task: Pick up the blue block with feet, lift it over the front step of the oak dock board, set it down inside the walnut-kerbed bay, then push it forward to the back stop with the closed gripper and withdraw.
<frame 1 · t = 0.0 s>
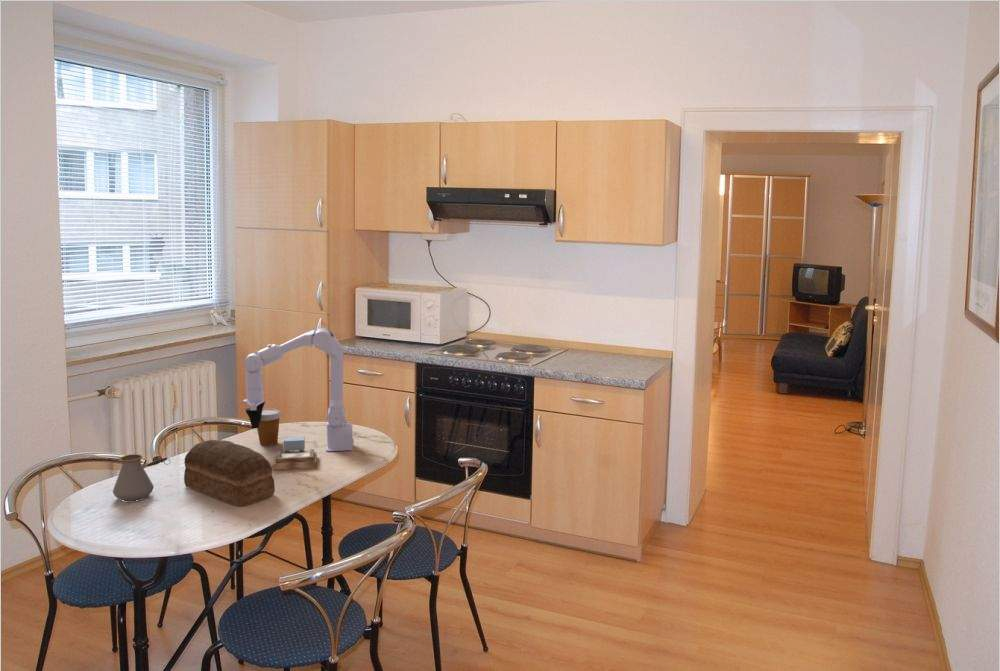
hand: (256, 424, 304), 10 cm above the table, tool pointing down, fingers open, 7 cm apart
disposable coffee cup: (268, 443, 316), on the table
dock: (295, 463, 294), on the table
bread: (229, 492, 268), on the table
blue block with feet: (294, 452, 305), on the table
coffee pot: (145, 501, 260), on the table
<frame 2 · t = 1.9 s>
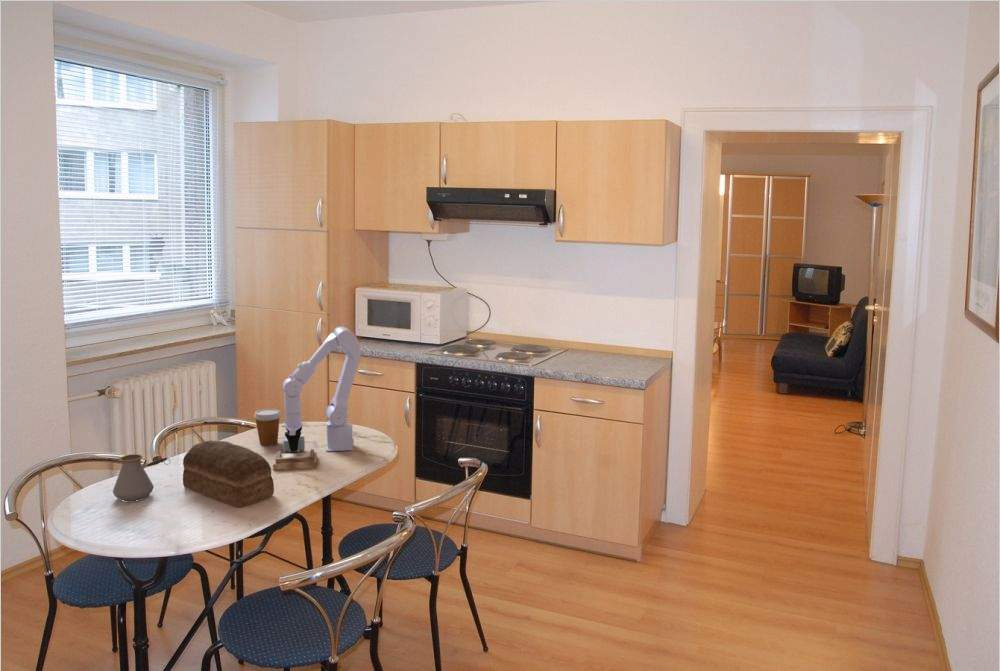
hand: (294, 449, 305), 1 cm above the table, tool pointing down, fingers closed on blue block with feet, 5 cm apart
blue block with feet: (294, 452, 305), on the table, touching gripper
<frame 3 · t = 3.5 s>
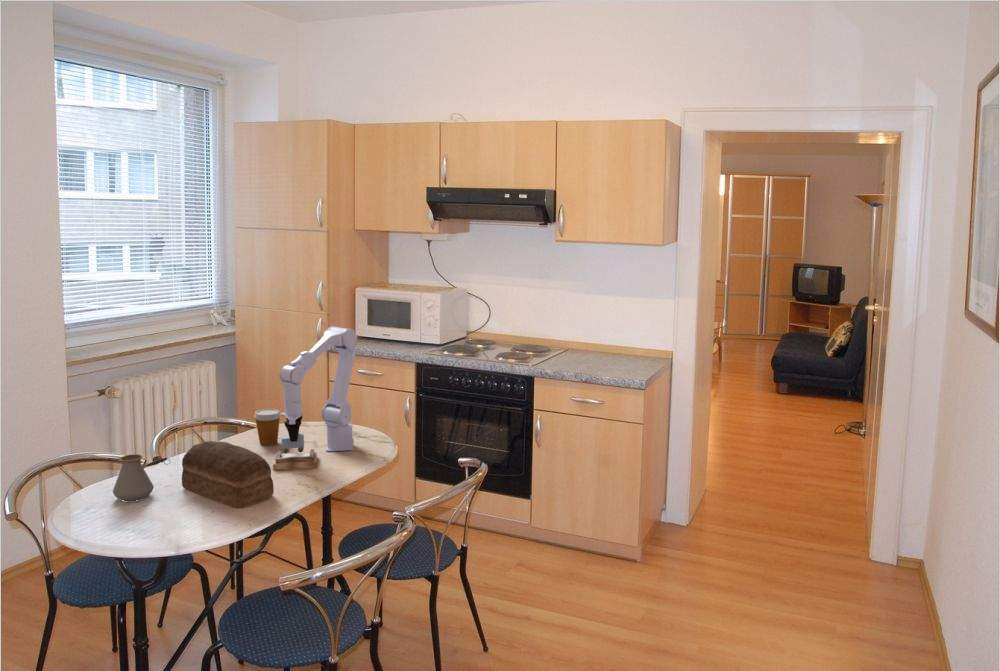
hand: (294, 439, 293), 8 cm above the table, tool pointing down, fingers closed on blue block with feet, 5 cm apart
blue block with feet: (293, 450, 294), point 4 cm above the table, touching gripper
when the fingers open (4 cm above the table, at t = 4.8 s): blue block with feet stays where it is, resting on dock.
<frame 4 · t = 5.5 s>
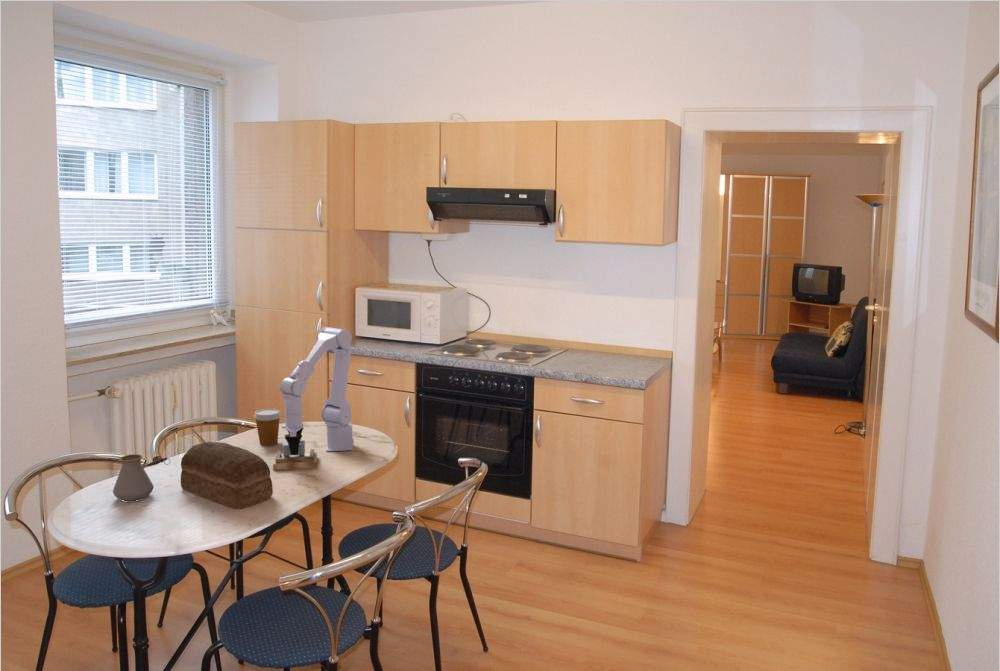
hand: (295, 451, 293), 4 cm above the table, tool pointing down, fingers open, 7 cm apart
blue block with feet: (294, 457, 293), point 2 cm above the table, touching dock
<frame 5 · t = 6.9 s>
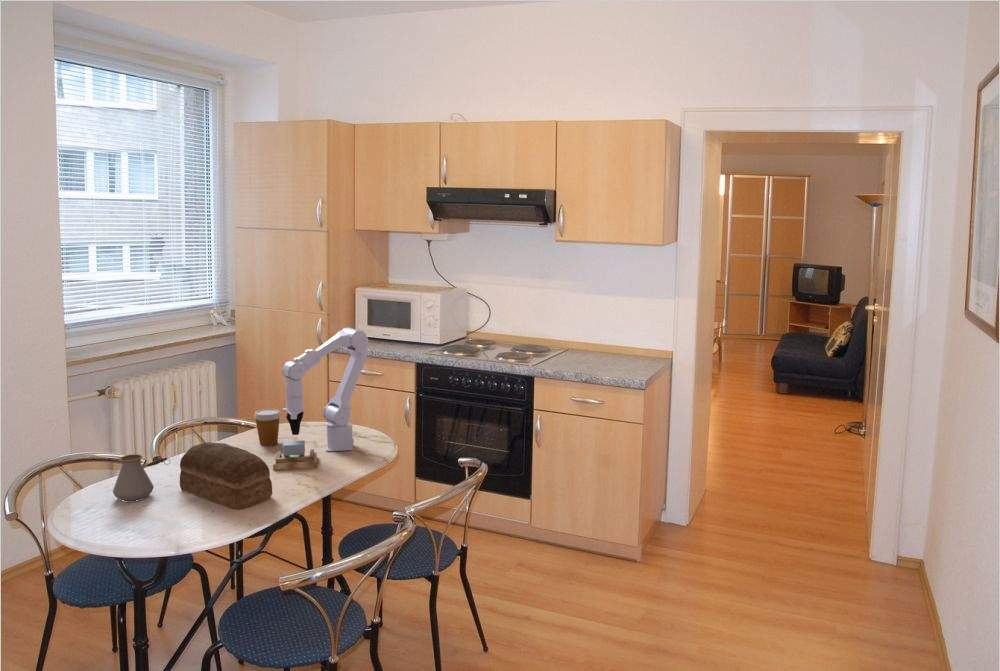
hand: (295, 433, 299), 8 cm above the table, tool pointing down, fingers closed
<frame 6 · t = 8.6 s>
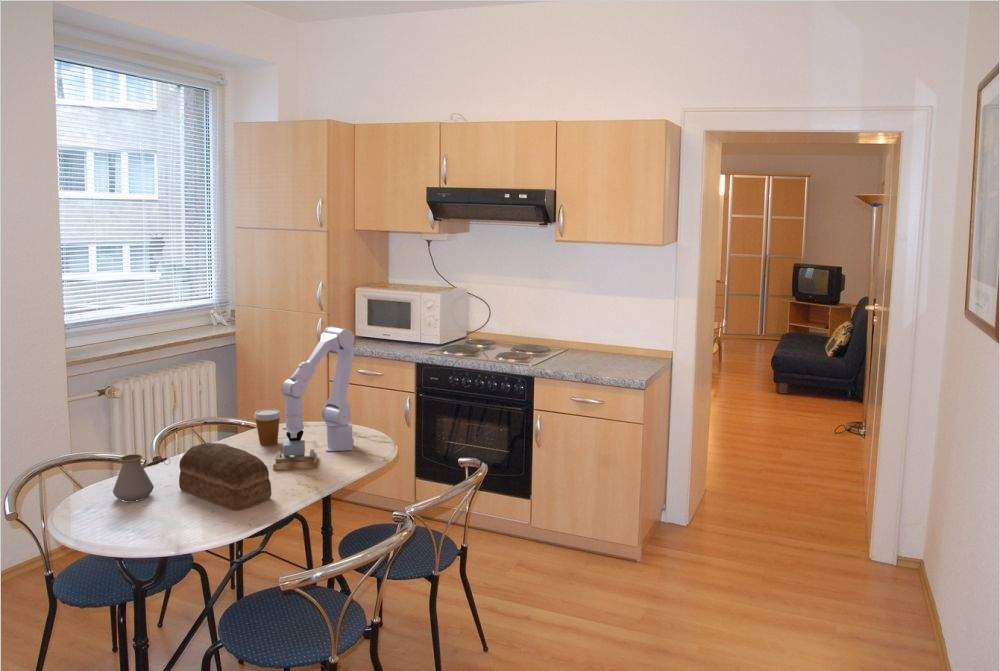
hand: (295, 452, 296), 3 cm above the table, tool pointing down, fingers closed, pressing on blue block with feet
blue block with feet: (294, 457, 293), point 2 cm above the table, touching dock, gripper
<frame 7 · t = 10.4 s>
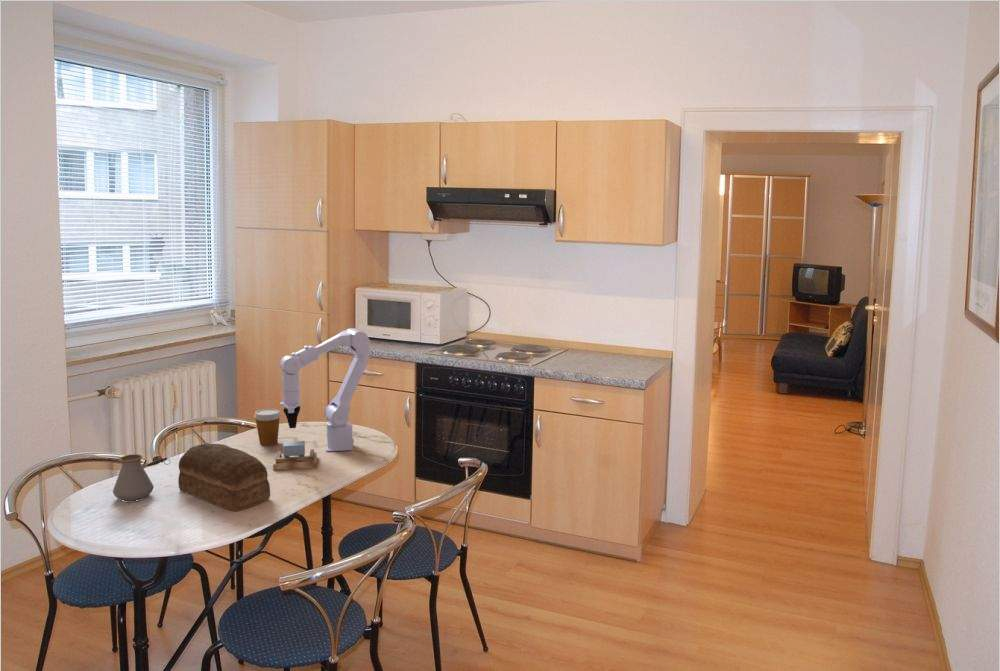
hand: (292, 427, 301), 10 cm above the table, tool pointing down, fingers closed
blue block with feet: (294, 458, 293), point 2 cm above the table, touching dock
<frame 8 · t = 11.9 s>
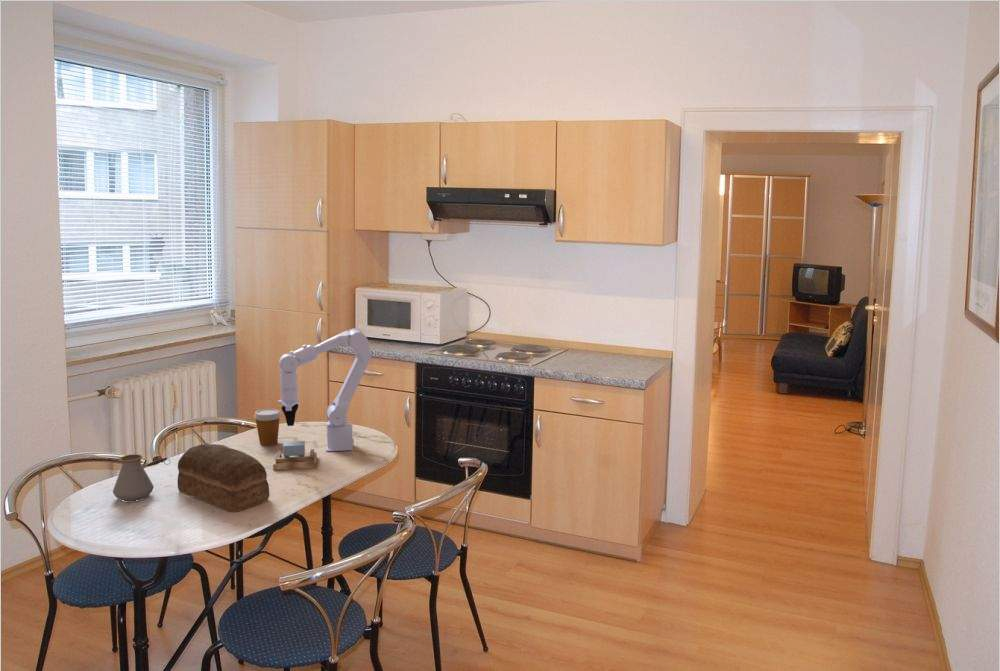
hand: (290, 425, 304), 10 cm above the table, tool pointing down, fingers closed
at the end: blue block with feet 0.7 cm from the target spot, point 2.1 cm above the table; blue block with feet tilted 0°; the gripper is holding nothing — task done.
